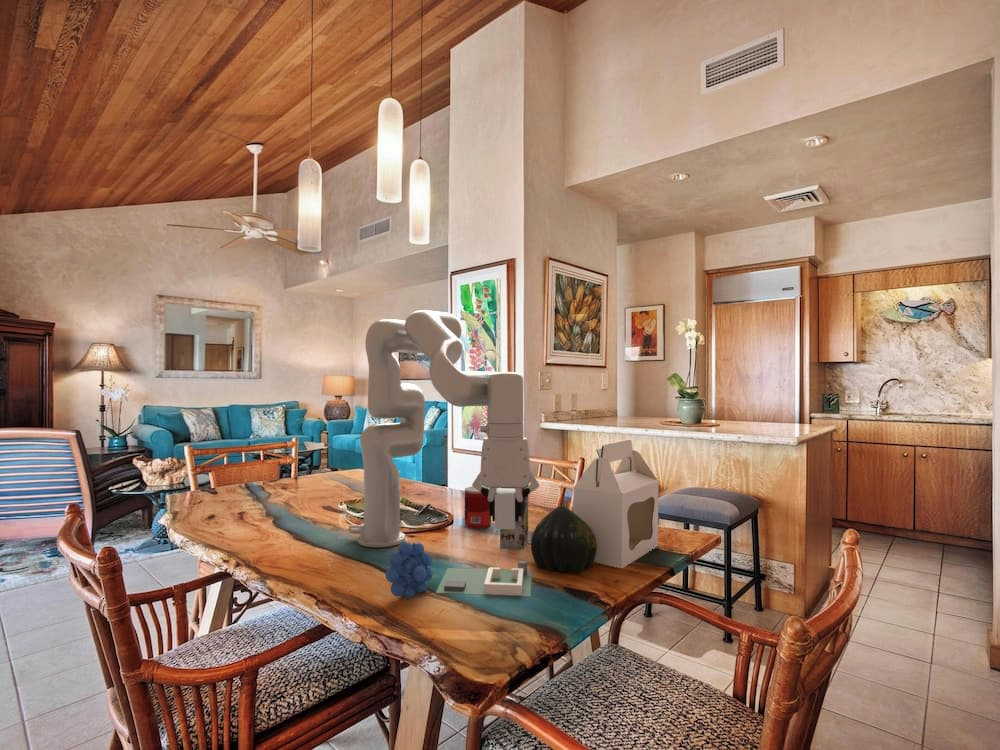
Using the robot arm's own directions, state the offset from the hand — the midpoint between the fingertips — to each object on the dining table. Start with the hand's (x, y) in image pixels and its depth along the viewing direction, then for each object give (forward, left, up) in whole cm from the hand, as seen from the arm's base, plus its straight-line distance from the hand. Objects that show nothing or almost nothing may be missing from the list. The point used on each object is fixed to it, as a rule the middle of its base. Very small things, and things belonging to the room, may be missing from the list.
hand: (505, 518), depth 112 cm
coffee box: (0, +31, -15) cm, 35 cm away
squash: (+12, +14, -15) cm, 24 cm away
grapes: (-18, -7, -15) cm, 24 cm away
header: (0, 0, -14) cm, 14 cm away
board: (-4, +2, -15) cm, 16 cm away
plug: (0, 0, -1) cm, 1 cm away
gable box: (+27, +28, -15) cm, 42 cm away
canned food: (-12, +49, -15) cm, 53 cm away
